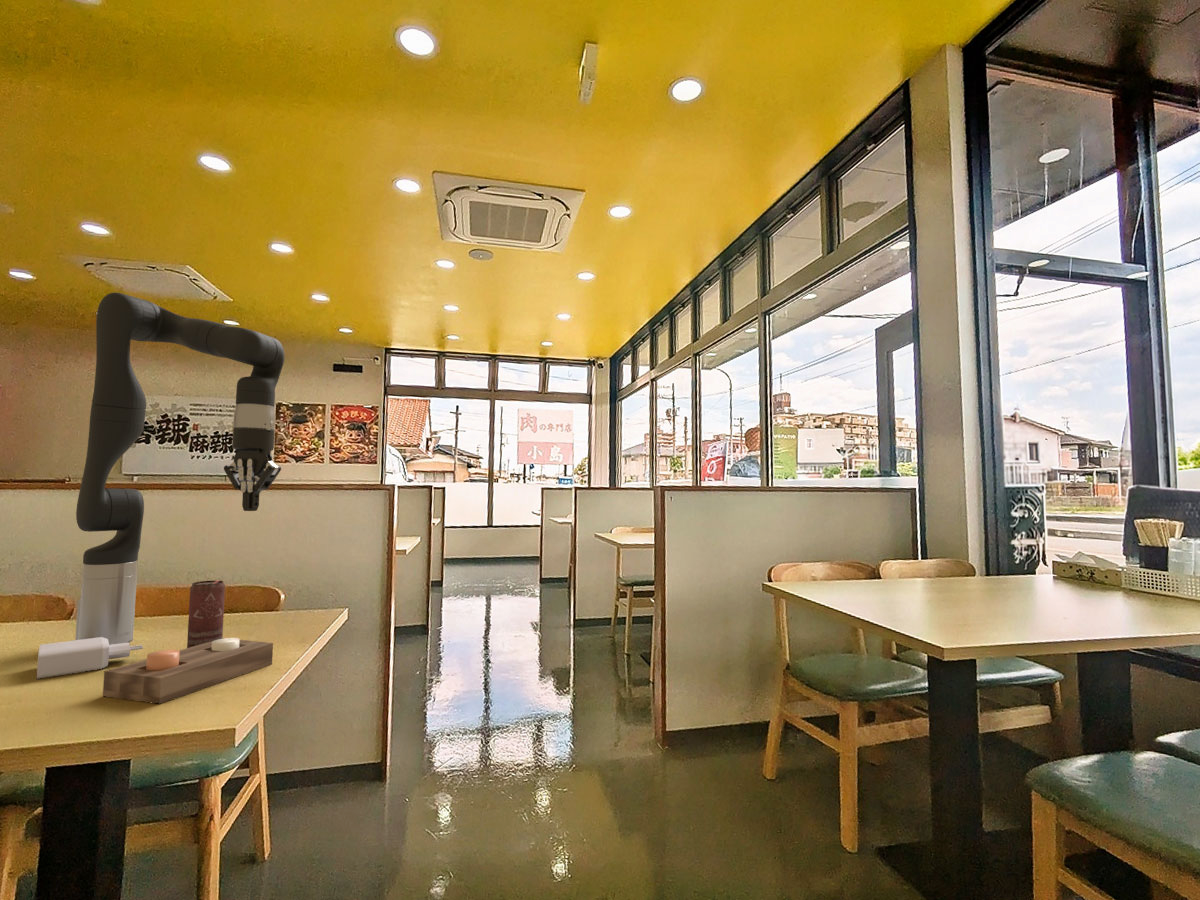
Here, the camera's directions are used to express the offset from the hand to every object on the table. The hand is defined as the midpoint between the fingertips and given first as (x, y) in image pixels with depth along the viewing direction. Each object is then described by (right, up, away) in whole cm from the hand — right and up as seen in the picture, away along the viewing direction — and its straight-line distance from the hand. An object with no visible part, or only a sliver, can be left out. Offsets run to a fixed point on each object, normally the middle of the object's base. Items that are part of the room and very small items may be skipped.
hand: (250, 510), depth 122 cm
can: (-10, -29, +1) cm, 31 cm away
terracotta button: (-1, -26, -23) cm, 35 cm away
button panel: (+1, -28, -18) cm, 33 cm away
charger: (-24, -29, -11) cm, 39 cm away
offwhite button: (+2, -27, -12) cm, 30 cm away
